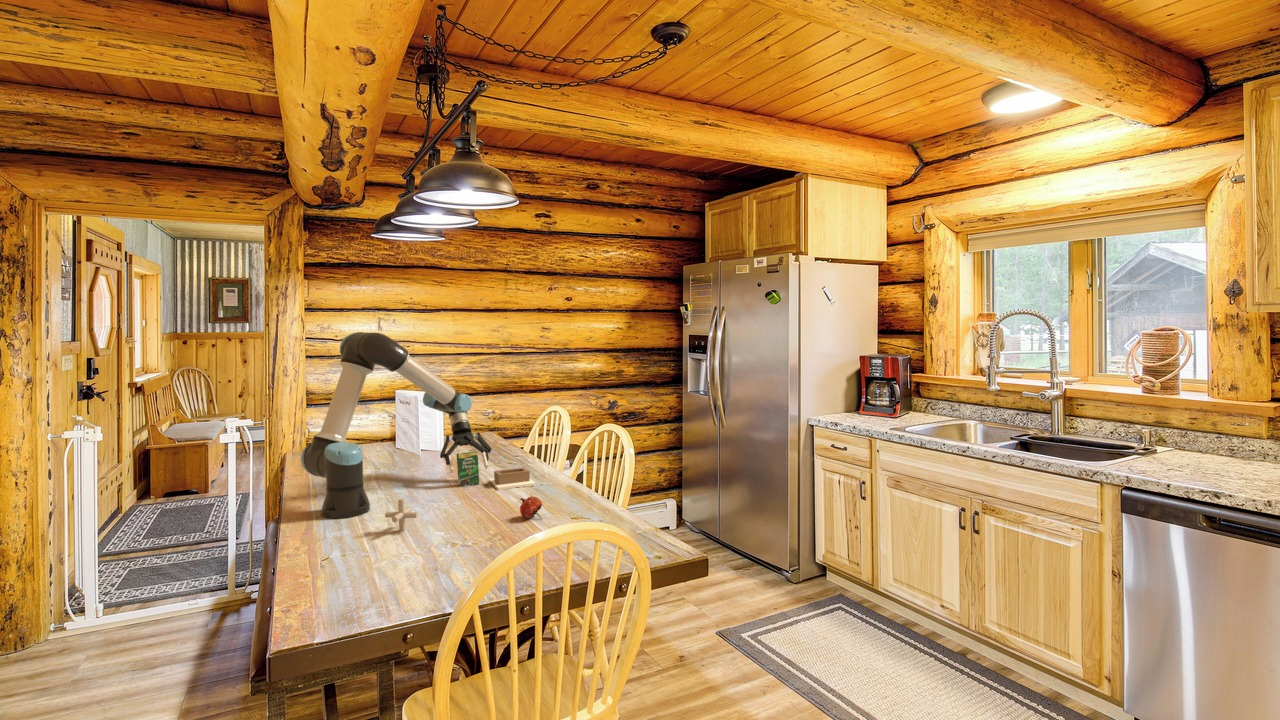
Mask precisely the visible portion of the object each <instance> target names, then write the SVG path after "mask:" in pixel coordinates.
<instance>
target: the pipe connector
mask: <svg viewBox="0 0 1280 720" xmlns="http://www.w3.org/2000/svg"><path fill="white" fill-rule="evenodd" d="M397 504H398V506H397V510H398V511H386V512H385V513H384V516H385V518H388V519H389V518H390V519H391V522H392V523H397V522H398V526H399V527H398V529H399V531H398V532H405V531H406V519H418V518H419V512H416V511H412V510H413V509H412V508H411V507H410V506H408V507H405V498H403V497H402V498H398V499H397Z"/></svg>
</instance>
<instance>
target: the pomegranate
mask: <svg viewBox="0 0 1280 720" xmlns="http://www.w3.org/2000/svg"><path fill="white" fill-rule="evenodd" d="M519 501H521V505H520V507H519V512H520V515H521V516H522V517H523V518H524V519H526V520H529V519H532V517H534V516H536V515H537V516H538V517H539V518H541V519H542V520H543V518H542V517H541V515H539V514H538V512H539V511H540V510H541V508H542V507H543V505H544V503H543V502H542V500H541V499H540V498H539V497H536V496H532V495H531V496H528V497H527V498H523V497H520V499H519Z"/></svg>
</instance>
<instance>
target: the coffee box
mask: <svg viewBox="0 0 1280 720" xmlns="http://www.w3.org/2000/svg"><path fill="white" fill-rule="evenodd" d="M478 454H479V451H477V450H475V451H469V452H467V451H466V452H460V453H459V452H458V453H456V466H457V467H456V468H457V485H458V487H460V486H462V487H466V486H465V485H469V486H473V485H472V484H476V485H480V470H479V457H478V456H479V455H478Z"/></svg>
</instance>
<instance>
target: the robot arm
mask: <svg viewBox="0 0 1280 720" xmlns="http://www.w3.org/2000/svg"><path fill="white" fill-rule="evenodd" d="M339 353H340V356H341V358H340V361H339V365H341V368H342V370H341V373H340V374H339V378H338V381H337V384H336V386H335V389H334V392H333V396H332V398H331V401H330V403H329V406H328V410H327V412H326V415H325V417H324V421H323V424H322V426H321V430H320V431H319V432H318V433H316V434H314V435H313V439H312V441H311V443H309V444H308V445H306V446H304V449H303V450H302V452H301V455H300V461H301V465H302V467H303V469H304V470H305V471H306V472H307V473H309V474H311V475H312V476H314V477H320V478H324V479H325V483H326V486H325V487H326V493H325V496H324V500H323V503H322V506H321V516H322V517H324V518H326V519H327V518H328V519H345V518H352V517H357V516H361V515H364V514H365V513H367V512H369V511H370V510H371V503H370V500H369V498H368V496H367V493H366V490H365V488H364V487H365V486H364V464H363V463H364V460H363V458H364V456H363V450H362V447H361V446H360V445H359V444H358V443H354V442H348V440H347V438H346V437H347V434H348V432H349V428H350V425H351V423H352V419H353V417H354V414H355V411H356V408H357V406H358V402H359V400H360V396H361V393H362V390H363V387H364V385H365V381H366V379H367V376H368V375H370V374H372V373H373V372H374V368H375V366H379V367H383V368H384V369H386V370H388V371H389V372H393V373H394V372H396V373H397V374H399V375H400V376H402V377H403V378H405V380H408V381H409V382H410V383H411V384H413V385H414V386H416V387H417V388H419V389H420V390H422V391H423V392H424V394H423V398H422V403H423V405H424V406H426V407H428V408H429V409H433V410H436V411H439V412H442V413H444V414H448V417H449V421H450V422H449V423H450V427H451V432H452V433H451V434H452V436H450V435H449V434H447V435H445V442H444V445H443V447H442V449H441V452H440V455H439V458H440V459H444V460H445V464H446V466H449V471H450V472H449V473H450V474H452V473H454V472H453V471H454V466H453V465H454V464H453V459H452V454H453V452H454V451H455V450H456V449H457V447H458V446H460V447H463V446H471V447H473V448H474V449H475V450H476V451H478V452H480V453H481V454H482V460H483V466H484V470H488V467H489V463H488V461H489V454H490V453H491V452H492V447H491V446H490V445H489V444H488V442H486V440H485V439H484V438H483V436H482V435H481V433H480V432H476V433H474V434H473V432H472V428H471V424H470V418H469V414H468V412H469V411H470V410H471V408H472V407H473V400H472V398H471V397H470V395H469V394H466V393H461V392H459V391H458V390H456V389H455V388H454V387H452V386H451V385H450V384H448V383H447V382H446V381H444V380H443V379H441V378H440V377H439V376H438V375H437V374H435V373H434V372H432V371H431V370H429V369H428V368H426V367H425V366H424V365H423V364H421V363H420V362H419V361H417V360H416V359H415V358H414V357H412V356H411V355H410V353H409V351H408V349H406V348H405V347H404V346H402V345H401V344H400V343H398V342H397V341H396V340H394V339H392V338H391V337H389V336H388V335H386V334H384V333H380V332H363V331H357V332H352V333H349V334H347V335H346V336H345V337H344V338H343V339H342V341H341V342H340V346H339ZM476 440H477V441H476ZM451 441H453V443H452V445H451V446H450V447H449V449H448V446H449V443H450V442H451ZM447 449H448V450H447ZM446 451H447V452H446Z"/></svg>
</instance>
